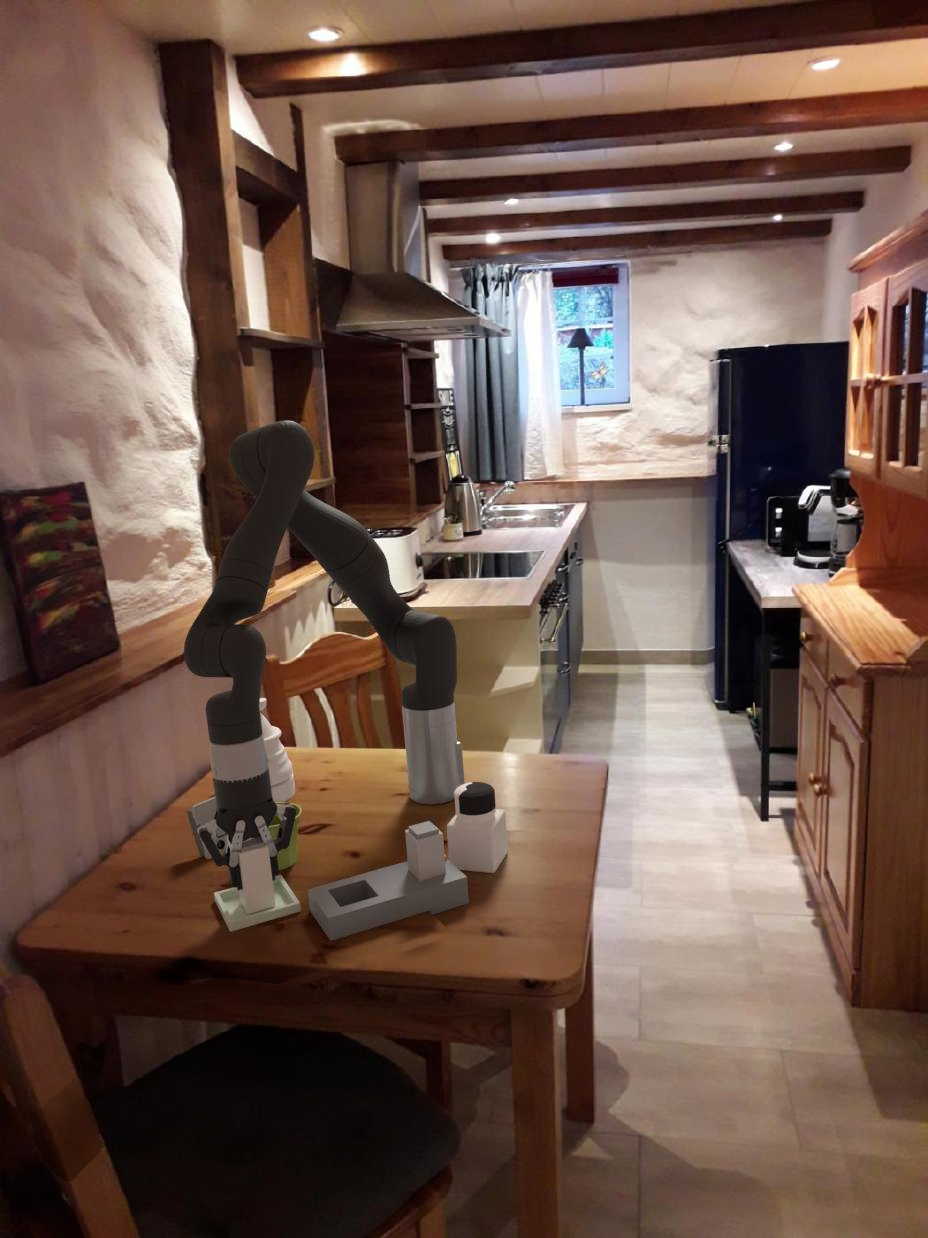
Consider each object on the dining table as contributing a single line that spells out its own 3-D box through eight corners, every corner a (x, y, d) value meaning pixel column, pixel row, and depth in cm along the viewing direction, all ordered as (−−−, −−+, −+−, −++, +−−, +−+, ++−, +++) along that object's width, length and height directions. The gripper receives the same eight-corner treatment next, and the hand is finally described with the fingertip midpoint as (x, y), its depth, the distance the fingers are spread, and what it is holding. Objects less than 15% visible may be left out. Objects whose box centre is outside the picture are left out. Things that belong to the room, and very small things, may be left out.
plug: (268, 894, 136) (260, 832, 134) (275, 906, 132) (267, 842, 130) (240, 902, 134) (232, 839, 132) (247, 914, 130) (238, 850, 128)
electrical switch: (210, 865, 148) (199, 808, 147) (191, 860, 152) (180, 804, 150) (257, 842, 156) (247, 788, 154) (238, 837, 159) (228, 785, 157)
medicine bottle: (508, 852, 146) (503, 779, 143) (494, 874, 139) (489, 798, 136) (464, 848, 148) (459, 776, 145) (449, 869, 141) (443, 794, 139)
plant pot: (240, 861, 149) (234, 810, 147) (299, 847, 152) (293, 796, 150) (252, 886, 140) (245, 832, 138) (314, 871, 144) (308, 818, 142)
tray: (282, 887, 140) (280, 874, 139) (301, 916, 131) (300, 903, 131) (215, 905, 135) (213, 892, 135) (230, 937, 127) (229, 923, 126)
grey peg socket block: (441, 877, 139) (436, 809, 137) (468, 903, 131) (463, 832, 129) (310, 915, 131) (302, 845, 129) (331, 946, 123) (323, 871, 121)
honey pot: (281, 776, 183) (271, 687, 180) (305, 797, 172) (294, 703, 169) (216, 793, 177) (203, 701, 173) (236, 816, 166) (223, 718, 163)
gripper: (283, 748, 135) (296, 859, 139) (182, 771, 129) (198, 886, 133) (298, 764, 128) (312, 880, 132) (192, 789, 122) (209, 909, 126)
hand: (255, 882), depth 132 cm, fingers closed on plug, 4 cm apart
